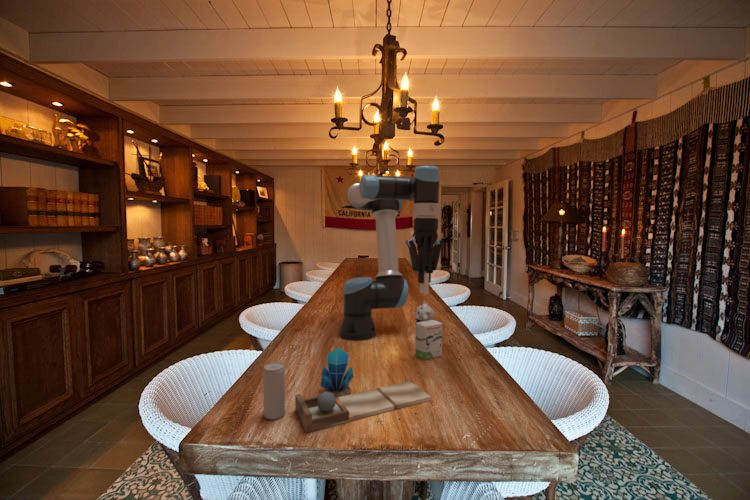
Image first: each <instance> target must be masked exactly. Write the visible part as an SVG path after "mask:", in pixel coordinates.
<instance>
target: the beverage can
mask: <svg viewBox="0 0 750 500" xmlns="http://www.w3.org/2000/svg"><path fill="white" fill-rule="evenodd" d="M284 366H285V365H284V363H282V362H270V363H267V364H265V365H264V366H263V373H262V374H263V377H262V379H263V382H262V383H263V416H264V417H265V419H268V420H270V421H271V420H272V421H273V420H277V419H280V418H282V417H283V416H284V415H285V413H286V412H285V411H286V408H285V407H286V402H285V401H286V399H285V395H286V392H285V391H286V390H285V389H286V388H285V387H286V386H285V384H286V383H285V381H286V380H285V379H286V377H285V367H284Z"/></svg>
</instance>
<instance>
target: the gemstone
mask: <svg viewBox="0 0 750 500" xmlns="http://www.w3.org/2000/svg"><path fill="white" fill-rule="evenodd" d="M326 357H327V358H326V359H327V367H326V366H325V365H324V364H323V365H322V371H321V379H320V384H319V386H320V387H321V388H324V390H323V392H331V393H335V398H337V397H341V396H346V395H350V394H352V393H351V391H352V390H351V387H350V386H349V384H350V383H351V381H352V379H353V378H354V368H353V365H351V366H349V368H348V369H347V366H348V365H349V359H350V355H349V353H347V352H346V351H345V350H344V349H342V348H340V346H338V347H336V348H334V350H332V351H330V352H329V353H328V354H326Z"/></svg>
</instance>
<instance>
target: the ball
mask: <svg viewBox="0 0 750 500" xmlns="http://www.w3.org/2000/svg"><path fill="white" fill-rule="evenodd" d="M318 396H319V397H318V399H317V405H318V408H319V409H320V410H321V411H323V412H329V411H331V410H332V409H333V408H334V406H335V404H336V399H335V396H334V395H333V394H332V393H331V392H324V391H323V392H322V393H320V394H319V395H318Z"/></svg>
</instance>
